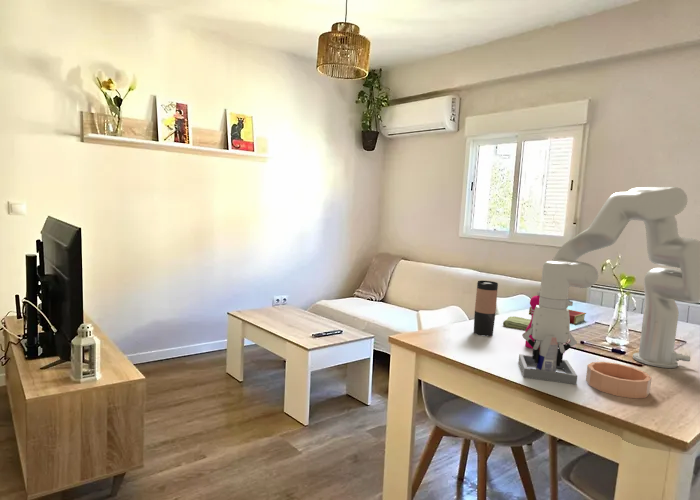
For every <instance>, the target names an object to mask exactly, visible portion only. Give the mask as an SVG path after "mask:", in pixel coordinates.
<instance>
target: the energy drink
mask: <svg viewBox="0 0 700 500" xmlns="http://www.w3.org/2000/svg"><path fill="white" fill-rule="evenodd" d="M558 346H559V344H558V343H557V339H556V337H555V336H554V335H548V336H546V337H545V339H544V341H541V343H540V345H539V347H538V350H539V358H538V363H537V365H536V366H535V367H536V368H535V369H538V370H546V371H553V372H557V368H556V365H557V356H558V349H559V348H558Z"/></svg>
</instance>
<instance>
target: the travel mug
mask: <svg viewBox="0 0 700 500" xmlns="http://www.w3.org/2000/svg"><path fill="white" fill-rule="evenodd" d="M498 285H499V283H498V282H497V281H492V280H477V283H476V295H475V304H474V305H475V306H474V315H473V316H474V319H473V333H474V334H475V335H476V336H477V335H478V336H483V337H492V336H493V335H494V329H495V319H496V311H497V300H498V289H499V288H498V287H499V286H498Z"/></svg>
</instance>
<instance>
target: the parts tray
mask: <svg viewBox="0 0 700 500" xmlns="http://www.w3.org/2000/svg"><path fill="white" fill-rule="evenodd" d="M518 364H519V367H520V370H521V375H522V377H523V378H528V379H533V380H534V379H535V380H541V381H549V382H557V383H562V384H570V385H577V382H578V375H577V373H576V372H575V370H574V369H573V366H572V365H571V364H570V363H569V361H568V360H567V359H563V360H562V363H560V366H557V365H556V369H563V371H564V372H560V371H559V372H558V371H556V372H553V371H546V370H538V369H536V368H530V367H528V365H533V366H537V363H535V361H534V359H532V355H530V354H529V355H528V354H521V353H518Z"/></svg>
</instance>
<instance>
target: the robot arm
mask: <svg viewBox="0 0 700 500" xmlns="http://www.w3.org/2000/svg"><path fill="white" fill-rule="evenodd" d="M686 193H687V192H685V190H684V189H682V188H681V187H677V186H641V187H640V186H638V187H633V188H631V189H629V190H628V191H619V192H615V193H613V194H611V195H610V196H608V198H607V199H606V201H605V202H604V203H603V205H602V206H601V208H600V210H599V211H598V213H597V214H596V216H595V217H594V218H593V220H592V222H591V224H589V226H588V227H587V229H585V230H583V231H581V232H579V233H578V234H577V235H575V236H574V237H572V238H571V239H569V240H567V241H566V242H565V243H564V244H562V245H561V247H560V248H559V249H558V250H557V251H556V253H555V255H554V256H553V258H552V260H547V261H545V262H544V263H543V264H542V268H541V269H542V271H541V281H540V282H541V283H540V299H539V305H536V307H535V310H534V314H533V319H532V325H531V328H529V329H528V330H527V331H526V330H525V331H526V332H525V331H524V332H523V333H522V338H523V339H524V340H525V342H526V341H527V342H528V343H529V344H530V345H531V346H532V347H533V349H532V355H531V356H532V359H534V361H535V363H538V358H539V350H538V347H539V345H540V343H541V341H544V339H545V337H546V336H548V335H554V336H555V337H556V339H557V343H558V344H559V346H558V356H557V366H560V363H562V360H564V359H563V358H564V354H565V352H567V351H568V350H570V348H572V347H574V346H575V345H577V344H578V341H577V340H576V339H575V337H574V336H573V335H572V334H571V332H570V330H571V329H570V327H571V323H570V317H569V310H570V309H568V307H573V301H572V300H571V301H570V300H569V289H570V287H574V288H579V289H587V288H591V287H593V286H594V285H595V284H596V283H597V281H598V279H599V272H598V270H597V268H596V267H595V266H594V265H592V264H591V263H589V262H582V261H578V259H579V258H581V257H582V256H583V255H585V254H588V253H591V252H593V251H597V250H601V249H604V248H608V247H611V246H613V245H614V244H615V243H616V242H617V241H618V239H619V238H620V236H621V234H622V233H623V232H624V230H625V228H626V227H627V225H628V224H629V222H630V221H643V225H644V227H645V236H646V237H645V238H646V239H645V240H646V251H647V258H648V260H649V261H650V262H651V263H653V264H655V265H657V266H658V265H659V266H664V267H654V268H652V269H650V270H648V271H647V272H646V274H645V275H644V277H643V286H644V287H643V289H644V308H643V315H642V322H641V323H642V325H641V330H640V331H641V332H640V340H639V346H638V347H639V349H638V352H634V353H633V354H632V358H633V360H635V361H637V362H638V363H642V364H644V365H647V366H652V367H657V368H662V369H663V368H664V369H674V368H677V367H678V365H679V363H678V362H679V361H682V362H690V361H691V356H690V355H688V354H687V355H686V354H683V353H679V352H676V351H675V344H676V338H677V337H676V335H677V328H678V321H679V315H680V314H679V308H678V305H677V303H676V301H679V302H680V301H681V302H685V303H691V304H697V303H700V240H698V239H696V238H692V237H691V238H690V237H681V236H680V234H679V230H678V221H677V218H676V216H678V215H679V214H681V213H682V212H683V211H684V210H685V208H686V207H687V205H688V195H687V194H686ZM669 267H671V268H669ZM674 268H677V269H674ZM529 335H532V337H533V339H535V340H534V342H533V341H532V339H530V338H529Z"/></svg>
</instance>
